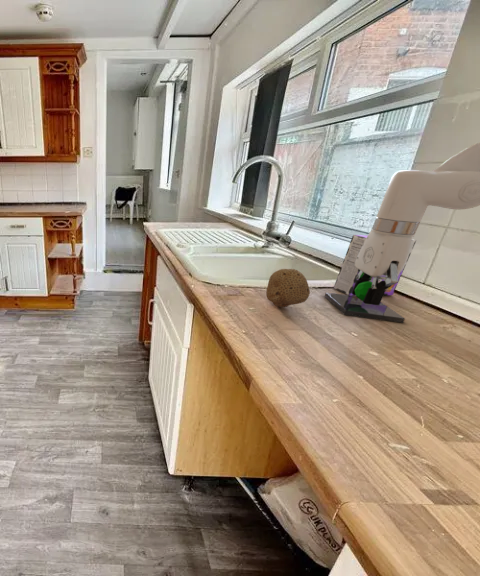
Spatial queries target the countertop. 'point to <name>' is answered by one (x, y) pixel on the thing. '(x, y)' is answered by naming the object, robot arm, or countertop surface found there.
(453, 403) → the countertop surface
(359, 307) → the board
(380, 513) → the countertop surface
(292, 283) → the natural sponge
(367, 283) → the polyhedron
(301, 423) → the countertop surface
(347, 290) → the candy box
